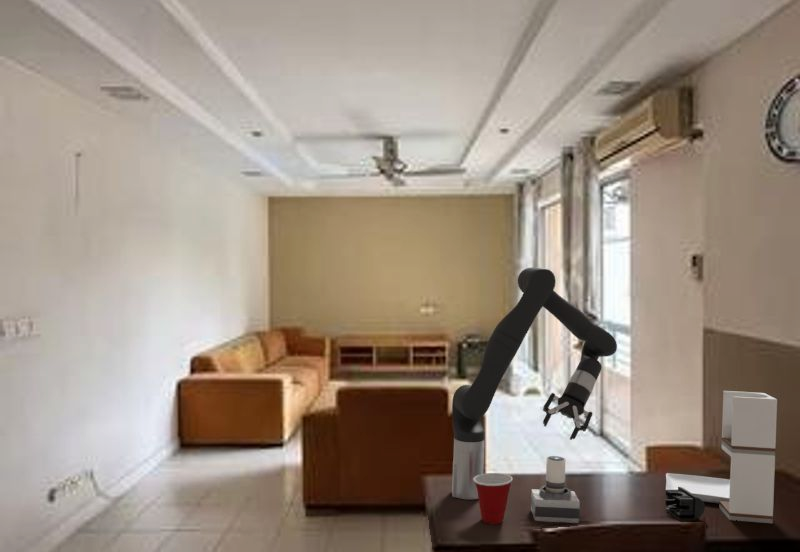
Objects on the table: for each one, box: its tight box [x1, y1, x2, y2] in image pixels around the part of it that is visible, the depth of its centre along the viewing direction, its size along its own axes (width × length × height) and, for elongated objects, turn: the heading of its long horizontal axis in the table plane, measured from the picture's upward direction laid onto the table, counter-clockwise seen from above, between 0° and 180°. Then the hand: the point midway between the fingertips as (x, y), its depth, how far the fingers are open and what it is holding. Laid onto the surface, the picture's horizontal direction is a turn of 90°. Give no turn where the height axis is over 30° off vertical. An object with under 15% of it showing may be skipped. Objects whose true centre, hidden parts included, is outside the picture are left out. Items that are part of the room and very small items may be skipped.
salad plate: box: [665, 472, 730, 504], centre depth 228 cm, size 21×21×3 cm
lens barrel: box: [545, 455, 567, 494], centre depth 203 cm, size 5×5×10 cm
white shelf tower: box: [718, 390, 778, 524], centre depth 209 cm, size 11×11×35 cm
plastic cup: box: [473, 472, 514, 525], centre depth 198 cm, size 11×11×12 cm
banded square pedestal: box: [530, 485, 581, 524], centre depth 203 cm, size 12×9×8 cm
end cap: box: [664, 487, 706, 521], centre depth 208 cm, size 10×7×7 cm
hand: (557, 432), depth 220 cm, fingers open, 8 cm apart
